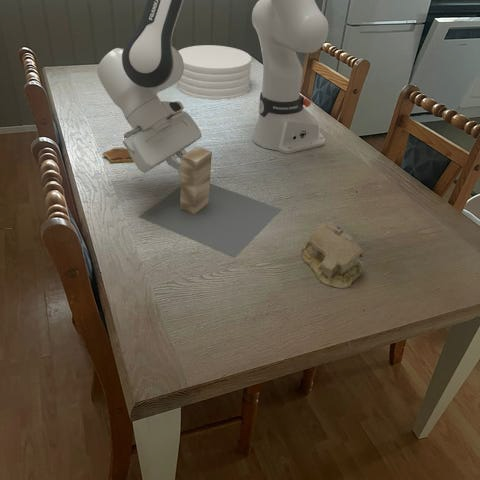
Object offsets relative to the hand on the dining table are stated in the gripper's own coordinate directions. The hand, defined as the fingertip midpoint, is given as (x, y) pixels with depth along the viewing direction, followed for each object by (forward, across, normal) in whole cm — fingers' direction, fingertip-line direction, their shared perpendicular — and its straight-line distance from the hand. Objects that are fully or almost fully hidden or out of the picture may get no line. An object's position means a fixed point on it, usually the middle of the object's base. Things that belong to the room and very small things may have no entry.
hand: (186, 171), depth 107 cm
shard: (-13, +10, +27) cm, 32 cm away
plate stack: (-22, +73, +35) cm, 84 cm away
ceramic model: (+34, -1, -20) cm, 39 cm away
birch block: (+8, 0, +5) cm, 9 cm away
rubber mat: (+12, 0, +2) cm, 12 cm away
